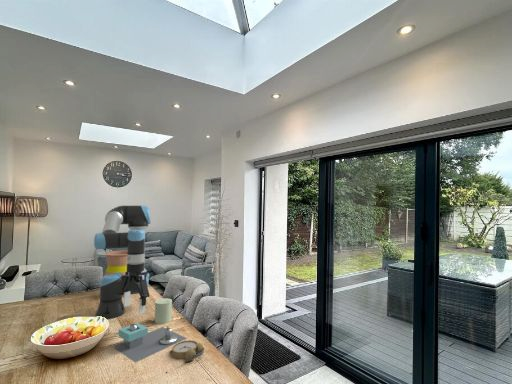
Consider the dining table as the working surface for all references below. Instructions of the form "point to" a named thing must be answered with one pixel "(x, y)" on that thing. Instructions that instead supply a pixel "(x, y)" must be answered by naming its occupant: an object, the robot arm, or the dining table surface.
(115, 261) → the vase
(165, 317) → the can
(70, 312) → the dining table surface
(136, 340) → the stand
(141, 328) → the teal square collar
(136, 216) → the robot arm
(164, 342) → the bell
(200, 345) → the alarm clock
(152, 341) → the mat
